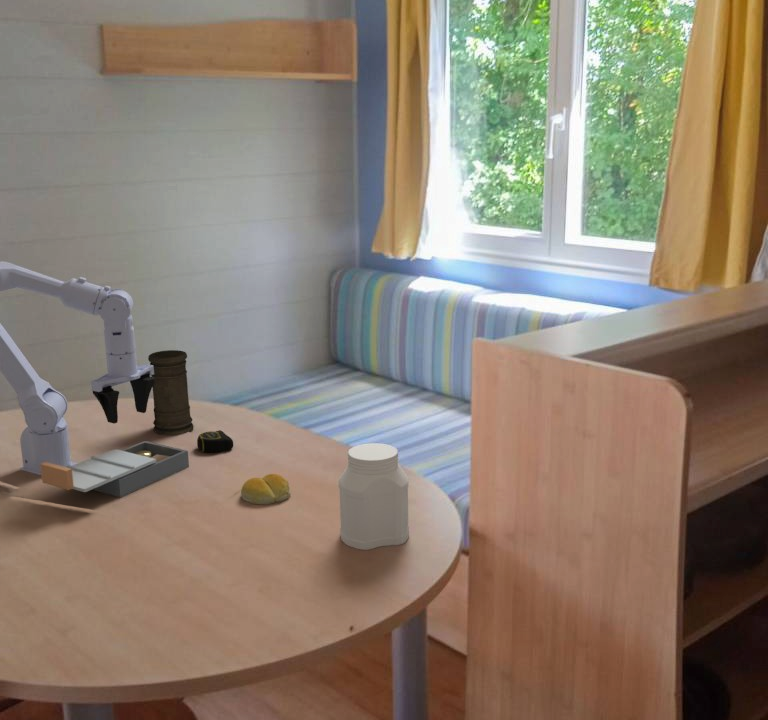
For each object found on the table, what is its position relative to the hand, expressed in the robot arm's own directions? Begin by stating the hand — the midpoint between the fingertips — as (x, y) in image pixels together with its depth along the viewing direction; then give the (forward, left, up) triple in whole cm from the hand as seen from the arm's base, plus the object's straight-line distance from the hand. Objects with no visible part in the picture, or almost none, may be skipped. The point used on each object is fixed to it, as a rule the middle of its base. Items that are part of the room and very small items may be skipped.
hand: (127, 417), depth 188 cm
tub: (+6, -5, -10) cm, 13 cm away
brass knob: (+3, 0, -10) cm, 10 cm away
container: (-8, +20, -11) cm, 24 cm away
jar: (+61, -3, -11) cm, 62 cm away
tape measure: (+9, +16, -11) cm, 21 cm away
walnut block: (+8, 0, -10) cm, 13 cm away
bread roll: (+34, +2, -11) cm, 36 cm away
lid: (+6, -14, -6) cm, 16 cm away
